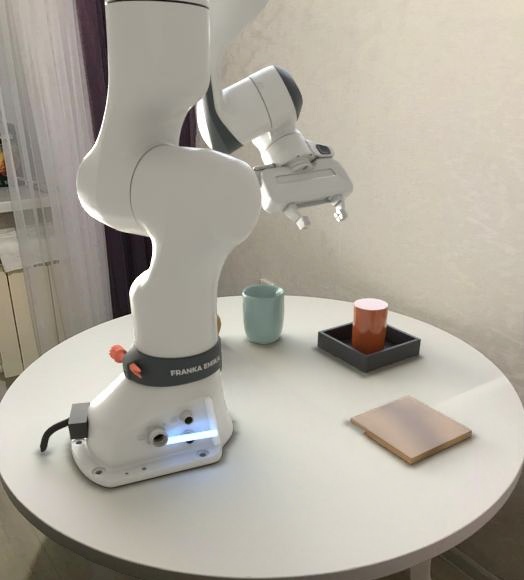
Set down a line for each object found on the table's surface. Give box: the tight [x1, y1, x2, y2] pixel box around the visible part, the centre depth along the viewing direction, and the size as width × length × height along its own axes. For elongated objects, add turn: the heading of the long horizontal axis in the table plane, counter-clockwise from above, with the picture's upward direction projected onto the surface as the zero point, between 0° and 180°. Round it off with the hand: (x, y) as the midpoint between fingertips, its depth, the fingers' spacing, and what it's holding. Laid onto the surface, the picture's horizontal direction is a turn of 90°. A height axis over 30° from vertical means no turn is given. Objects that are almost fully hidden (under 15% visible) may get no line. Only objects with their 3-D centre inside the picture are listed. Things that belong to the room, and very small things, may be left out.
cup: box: [241, 284, 285, 345], centre depth 111 cm, size 8×8×10 cm
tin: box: [317, 321, 422, 374], centre depth 107 cm, size 13×13×4 cm
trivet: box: [350, 395, 473, 465], centre depth 84 cm, size 12×12×1 cm
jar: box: [351, 297, 389, 355], centre depth 105 cm, size 6×6×9 cm
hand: (325, 223), depth 107 cm, fingers open, 8 cm apart
